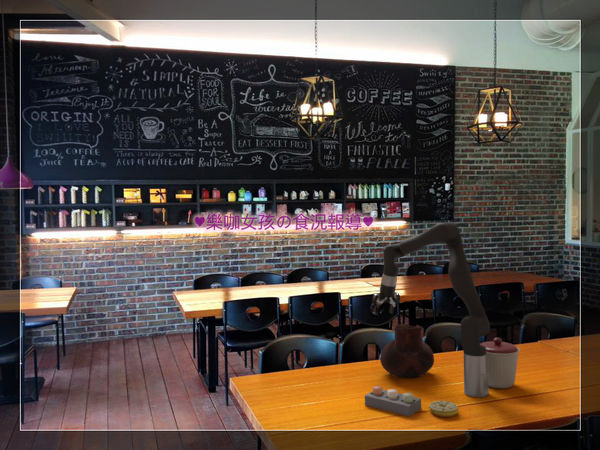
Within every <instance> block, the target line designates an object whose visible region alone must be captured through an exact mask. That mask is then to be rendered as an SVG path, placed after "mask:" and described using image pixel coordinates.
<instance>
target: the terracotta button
mask: <svg viewBox="0 0 600 450" xmlns="http://www.w3.org/2000/svg"><path fill="white" fill-rule="evenodd" d="M382 389H383V387H382V386H380V385H374V386H372V391H373V395H377V396H381V395H382Z"/></svg>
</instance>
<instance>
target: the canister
mask: <svg viewBox="0 0 600 450" xmlns="http://www.w3.org/2000/svg"><path fill="white" fill-rule="evenodd" d="M502 340H503V339H502V338H500V337H494V338H493V341H491V340H490V341H485V342H480V345H483V346H485V347H486V365H487V371H488V377H489V388H494V389H502V390H503V389H509V388H510V389H511V388H512V387H513V386H514V384H515V383H516V376H517V369H518V358H519V353H520V351H521V350H520V348H519V347H518V346H516V345H515V344H513V343H510V342H505V341H502Z"/></svg>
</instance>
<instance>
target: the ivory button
mask: <svg viewBox="0 0 600 450" xmlns="http://www.w3.org/2000/svg"><path fill="white" fill-rule="evenodd" d="M398 393H399V392H398V390H397V389H394V388H390V389H388V390H387V395H388V398H389V399H393V400H395V399H397V398H398Z"/></svg>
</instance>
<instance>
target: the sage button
mask: <svg viewBox="0 0 600 450" xmlns="http://www.w3.org/2000/svg"><path fill="white" fill-rule="evenodd" d="M402 394H403V402H405V403H410V404H411V403H413V397H414V393H411V392H405V393H402Z"/></svg>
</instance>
